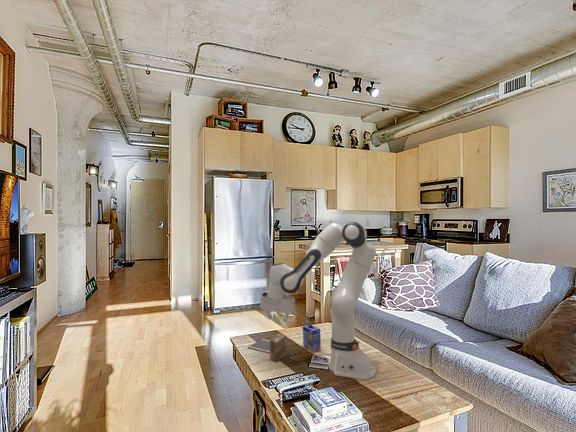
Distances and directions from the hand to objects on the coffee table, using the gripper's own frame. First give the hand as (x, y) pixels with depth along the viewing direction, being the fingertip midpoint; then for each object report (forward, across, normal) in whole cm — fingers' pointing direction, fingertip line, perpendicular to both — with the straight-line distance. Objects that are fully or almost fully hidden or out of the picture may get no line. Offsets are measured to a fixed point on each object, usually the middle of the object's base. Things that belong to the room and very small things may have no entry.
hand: (277, 320), depth 174 cm
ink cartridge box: (+20, -10, -20) cm, 30 cm away
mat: (+20, +13, -10) cm, 26 cm away
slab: (+20, -1, 0) cm, 20 cm away
